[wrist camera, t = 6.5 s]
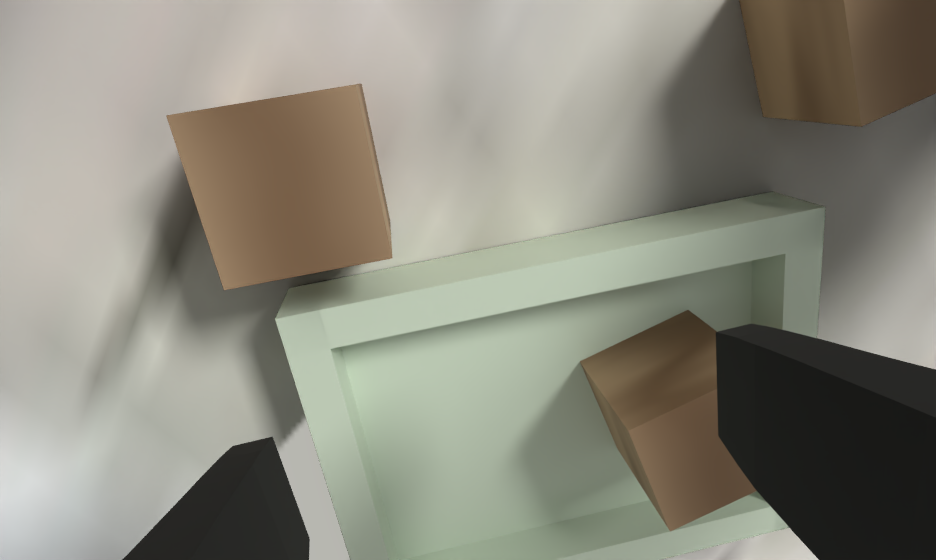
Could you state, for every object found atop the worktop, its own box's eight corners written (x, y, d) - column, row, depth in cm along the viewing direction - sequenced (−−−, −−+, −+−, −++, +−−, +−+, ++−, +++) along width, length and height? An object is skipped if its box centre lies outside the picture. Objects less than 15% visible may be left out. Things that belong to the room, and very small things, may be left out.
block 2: (688, 309, 19) (763, 366, 15) (718, 400, 20) (793, 473, 17) (579, 361, 19) (628, 430, 15) (617, 448, 20) (670, 531, 17)
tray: (772, 191, 19) (825, 206, 16) (763, 480, 23) (804, 523, 21) (288, 288, 17) (275, 318, 15) (373, 574, 22) (372, 631, 19)
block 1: (361, 83, 16) (355, 84, 12) (389, 220, 17) (392, 258, 14) (218, 107, 16) (166, 115, 12) (258, 244, 17) (224, 290, 13)
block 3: (860, -71, 16) (1000, -116, 13) (877, 64, 18) (1007, 60, 14) (734, -15, 16) (837, -42, 13) (761, 116, 18) (861, 126, 14)
